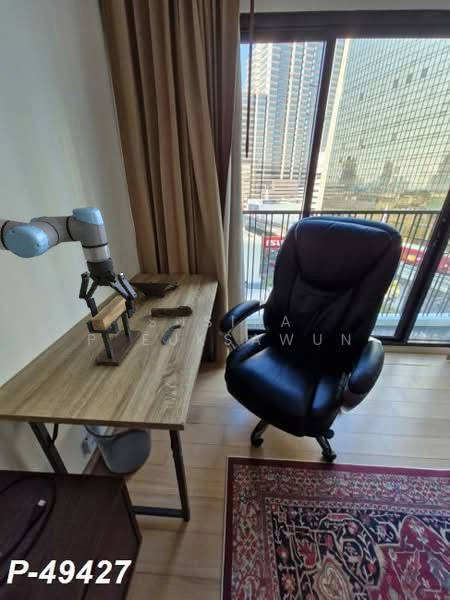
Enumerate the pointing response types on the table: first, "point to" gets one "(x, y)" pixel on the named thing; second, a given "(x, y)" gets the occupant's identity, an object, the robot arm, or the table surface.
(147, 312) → the table surface
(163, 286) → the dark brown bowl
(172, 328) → the knife
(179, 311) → the hand tool
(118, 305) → the wooden block
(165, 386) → the table surface
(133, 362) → the table surface
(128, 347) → the tool rack
